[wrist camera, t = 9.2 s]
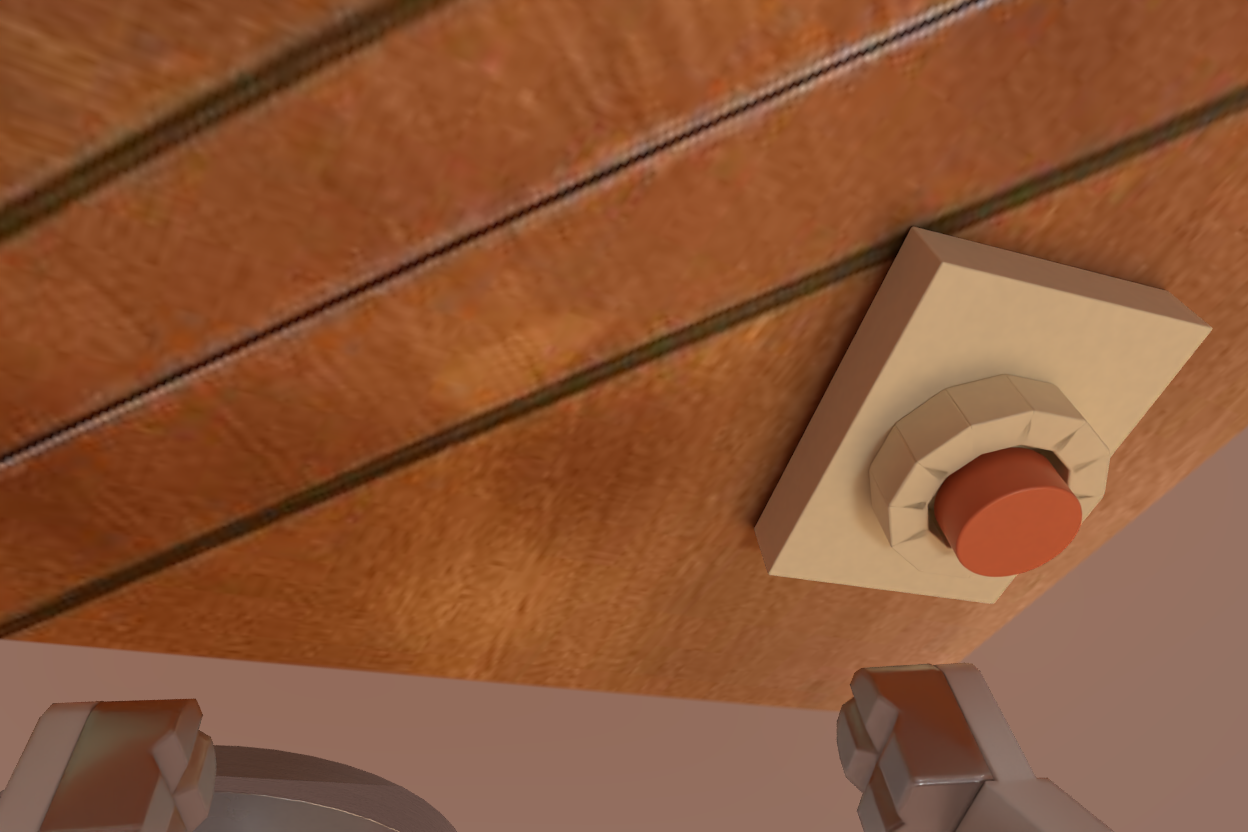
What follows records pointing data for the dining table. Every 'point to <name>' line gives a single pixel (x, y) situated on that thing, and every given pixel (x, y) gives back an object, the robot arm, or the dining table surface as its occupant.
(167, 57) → the dining table surface
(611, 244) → the dining table surface
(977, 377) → the button box
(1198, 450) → the dining table surface
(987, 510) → the button
